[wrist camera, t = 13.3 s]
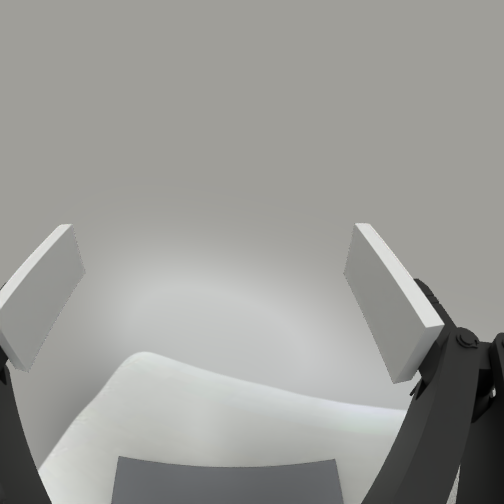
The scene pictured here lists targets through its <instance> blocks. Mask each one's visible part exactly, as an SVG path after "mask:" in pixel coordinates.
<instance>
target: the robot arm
mask: <svg viewBox="0 0 504 504" xmlns="http://www.w3.org/2000/svg"><path fill="white" fill-rule="evenodd" d="M84 274H85V269H84V267H83V263H82V260H81V256H80V252H79V249H78V245H77V241H76V237H75V234H74V230H73V226H72V224H68V225H67V224H66V225H59V226H58V227H57V228H56V229H55V230H54V231H53V232H52V233H51V234H50V235H49V236H48V237H47V239H46V240H44V241H43V242H42V244H41V245H40V246H39V247H38V248H37V249H36V250H35V251H34V252H33V253H32V254H31V255H30V256H29V258H28V259H27V260H26V261H25V262H24V263H23V264H22V265H21V267H20V268H19V269H18V270H17V271H16V272H15V274H14V275H13V276H12V277H11V278H10V279H9V281H7V282H6V283H5V284H4V285H3V287H2V288H1V289H0V504H52V503H51V501H50V498H49V496H48V494H47V492H46V490H45V488H44V485H43V483H42V481H41V478H40V476H39V474H38V471H37V469H36V466H35V464H34V461H33V458H32V456H31V453H30V450H29V447H28V444H27V441H26V438H25V435H24V431H23V428H22V425H21V421H20V417H19V414H18V410H17V406H16V402H15V397H14V393H13V388H12V383H11V378H10V372H9V369H8V367H7V366H6V362H7V360H8V359H9V360H10V362H11V363H12V364H13V366H14V367H15V368H16V369H19V370H22V371H25V372H29V370H30V368H31V366H32V364H33V362H34V360H35V358H36V356H37V354H38V352H39V350H40V348H41V346H42V345H43V343H44V341H45V339H46V337H47V335H48V333H49V331H50V330H51V328H52V326H53V324H54V323H55V321H56V319H57V317H58V316H59V314H60V312H61V311H62V309H63V307H64V306H65V304H66V302H67V301H68V299H69V297H70V296H71V294H72V292H73V290H74V289H75V288H76V286H77V284H78V283H79V281H80V280H81V278H82V277H83V275H84ZM344 275H345V277H346V279H347V281H348V283H349V285H350V287H351V289H352V292H353V294H354V296H355V298H356V300H357V302H358V304H359V306H360V308H361V310H362V313H363V315H364V317H365V319H366V321H367V324H368V326H369V328H370V330H371V332H372V335H373V337H374V339H375V341H376V344H377V346H378V348H379V351H380V353H381V355H382V358H383V360H384V362H385V365H386V367H387V370H388V372H389V374H390V377H391V379H392V382H393V383H394V384H395V383H399V382H404V381H409V380H411V379H412V378H413V376H414V375H415V373H416V372H417V370H419V372H420V374H421V376H422V378H421V379H420V381H419V382H418V383H417V385H416V386H415V388H414V389H413V390H412V392H411V393H410V396H412V395H413V394H414V396H413V398H412V401H411V404H410V406H409V409H408V411H407V414H406V416H405V419H404V421H403V424H402V426H401V428H400V431H399V433H398V435H397V437H396V439H395V442H394V444H393V446H392V448H391V450H390V452H389V454H388V456H387V458H386V460H385V462H384V464H383V466H382V468H381V470H380V472H379V474H378V476H377V477H376V479H375V481H374V483H373V485H372V486H371V488H370V490H369V491H368V493H367V495H366V497H365V498H364V500H363V501H362V503H361V504H446V503H447V500H448V497H449V495H450V492H451V490H452V487H453V484H454V481H455V478H456V475H457V472H458V469H459V466H460V474H459V483H458V491H457V497H456V504H504V333H499V334H497V336H496V338H495V339H494V341H493V342H492V343H489V342H480V341H479V340H478V338H477V336H476V335H475V334H474V333H473V332H471V331H470V330H468V329H465V328H462V327H458V328H457V327H456V326H455V324H454V323H453V321H452V320H451V318H450V317H449V315H448V314H447V312H446V311H445V309H444V308H443V307H442V305H441V304H439V301H438V300H437V298H436V297H434V294H433V293H432V291H431V290H430V289H429V287H428V286H427V285H425V284H424V283H423V282H422V281H420V280H419V279H413V278H412V277H411V276H410V274H409V273H408V272H407V270H406V269H405V268H404V266H403V265H402V264H401V262H400V261H399V260H398V259H397V257H396V256H395V255H394V253H393V252H392V251H391V250H390V248H389V247H388V246H387V245H386V244H385V242H384V241H383V240H382V238H381V237H380V236H379V235H378V234H377V232H376V231H375V230H374V229H373V227H372V226H371V225H370V224H359V223H355V224H354V229H353V234H352V239H351V243H350V248H349V253H348V257H347V262H346V266H345V270H344ZM494 388H495V390H496V395H495V396H494V397H493V392H492V391H493V390H494ZM460 462H461V463H460Z"/></svg>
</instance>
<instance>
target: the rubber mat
mask: <svg viewBox="0 0 504 504" xmlns="http://www.w3.org/2000/svg"><path fill="white" fill-rule="evenodd" d="M111 504H344V503H343V497H342V492H341V487H340V481H339V476H338V471H337V466H336V461H335V459H333V460H326V461H320V462H312V463H304V464H295V465H284V466H269V467H200V466H186V465H175V464H166V463H158V462H150V461H144V460H137V459H132V458H126V457H121V456H119V458H118V464H117V470H116V476H115V482H114V488H113V495H112V503H111Z"/></svg>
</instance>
